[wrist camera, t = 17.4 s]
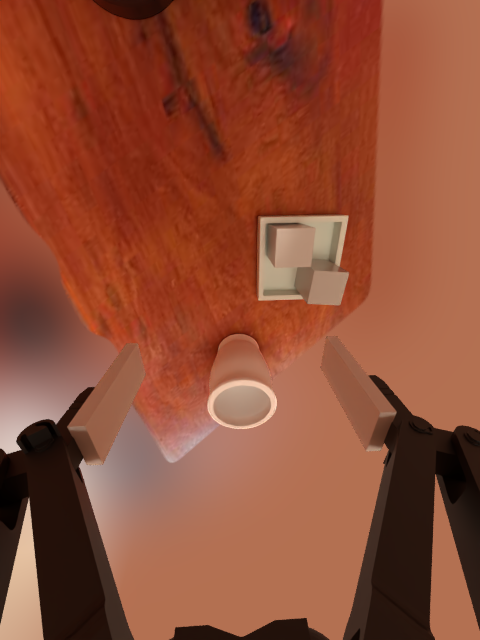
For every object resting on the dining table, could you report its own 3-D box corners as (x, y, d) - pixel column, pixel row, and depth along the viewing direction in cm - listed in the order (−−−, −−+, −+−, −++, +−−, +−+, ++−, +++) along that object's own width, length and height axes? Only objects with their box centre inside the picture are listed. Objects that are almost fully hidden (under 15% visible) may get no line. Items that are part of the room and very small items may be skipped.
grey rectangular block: (299, 257, 40) (314, 270, 32) (327, 259, 40) (349, 272, 33) (294, 286, 42) (307, 303, 35) (321, 287, 42) (339, 305, 35)
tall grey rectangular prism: (267, 223, 37) (276, 228, 30) (299, 222, 37) (315, 228, 30) (266, 255, 39) (274, 267, 32) (296, 254, 39) (310, 266, 32)
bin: (257, 215, 37) (260, 217, 34) (338, 214, 37) (348, 215, 34) (256, 293, 43) (258, 300, 40) (326, 291, 43) (333, 298, 40)
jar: (264, 327, 46) (278, 378, 33) (263, 368, 51) (275, 428, 38) (210, 329, 46) (203, 382, 33) (215, 371, 51) (210, 431, 38)
